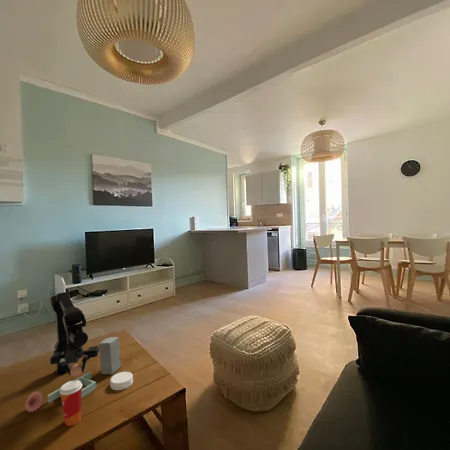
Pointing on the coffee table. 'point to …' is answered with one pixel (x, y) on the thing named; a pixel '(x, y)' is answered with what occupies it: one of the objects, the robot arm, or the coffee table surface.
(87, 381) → the sage green shelf frame
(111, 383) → the coaster
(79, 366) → the ball
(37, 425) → the coffee table surface
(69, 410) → the paper cup
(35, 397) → the flower
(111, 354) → the skincare box
